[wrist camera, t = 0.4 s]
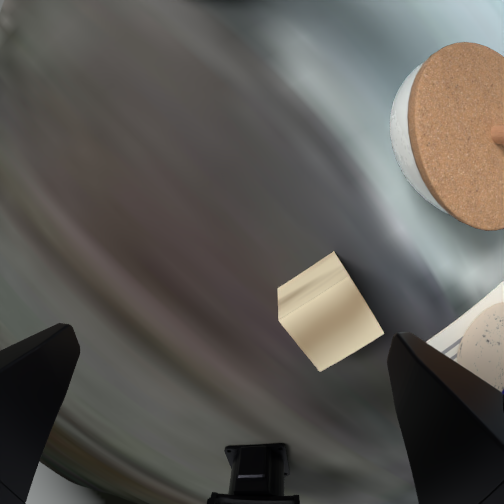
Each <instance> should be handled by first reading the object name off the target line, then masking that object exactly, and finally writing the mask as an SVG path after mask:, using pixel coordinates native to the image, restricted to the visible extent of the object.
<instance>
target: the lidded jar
mask: <svg viewBox="0 0 504 504" xmlns="http://www.w3.org/2000/svg"><path fill="white" fill-rule="evenodd" d="M390 137H391V142H392V148H393V151H394V154H395V157H396V160H397V162H398V164H399V167H400V169H401V171H402V172H403V174H404V176H405V177H406V179H407V180H408V182H409V183H410V184H411V185H412V186H413V188H414V189H415V190H416V191H417V192H418V193H419V194H420V195H421V196H422V197H423V198H424V199H426V200H427V201H428V202H429V203H431V204H432V205H434V206H435V207H437V208H438V209H440V210H441V211H443V212H445V213H447V214H449V215H451V216H453V217H454V218H456V219H457V220H459V221H460V222H462V223H465V224H467V225H469V226H471V227H474V228H477V229H481V230H486V231H489V230H500V229H504V57H503V56H502V55H500V54H499V53H497V52H496V51H494V50H492V49H490V48H488V47H486V46H483V45H480V44H476V43H469V42H462V43H454V44H451V45H448V46H446V47H444V48H442V49H440V50H439V51H437V52H436V53H434V54H433V55H431V56H430V57H429V58H428V59H427V60H426V61H424V62H423V63H421V64H420V65H418V66H417V67H416V68H415V69H414V70H413V71H412V72H411V73H410V74H409V75H408V76H407V77H406V79H405V80H404V82H403V83H402V85H401V86H400V88H399V90H398V91H397V94H396V96H395V99H394V101H393V105H392V109H391V115H390Z"/></svg>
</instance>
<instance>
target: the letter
mask: <svg viewBox="0 0 504 504" xmlns="http://www.w3.org/2000/svg"><path fill="white" fill-rule="evenodd" d="M503 302H504V281H503V282H502V283H500V284H499V285H498V286H497V287H496V288H495V289H494V290H492V291H491V292H490V293H489V294H488V295H487V296H485V297H484V298H483V299H482V300H481V301H479V302H478V303H477V304H476V305H474V306H473V307H472V308H471V309H470V310H468V311H467V312H466V313H464V314H463V315H462V316H461V317H459V318H458V319H457V320H455V321H454V322H453V323H451V324H450V325H449V326H447V327H446V328H445V329H443V330H442V331H440V332H439V333H438V334H436V335H435V336H433V337H432V338H431V339H429V340H428V341H426V343H428V344H429V345H431V346H432V347H434V348H435V349H437V350H438V351H440V352H441V353H443V354H445V355H446V356H448V357H449V358H451V359H452V360H454V361H455V362H457V353H458V349H459V345H460V342H461V340H462V338H463V336H464V334H465V332H466V331H467V329H468V327H469V326H470V325H471V323H472V322H473V321H474V320H475V319H476V318H477V317H478V316H479V315H480V314H481V313H482V312H483V311H485V310H486V309H487V308H489V307H491V306H493V305H495V304H498V303H503Z"/></svg>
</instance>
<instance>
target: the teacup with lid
mask: <svg viewBox="0 0 504 504" xmlns="http://www.w3.org/2000/svg"><path fill="white" fill-rule="evenodd" d="M457 363H458V364H460V365H461V366H463V367H464V368H466V369H467V370H469V371H471V372H472V373H474V374H475V375H477V376H478V377H480V378H481V379H483V380H484V381H486V382H487V383H489V384H490V385H492V386H493V387H495V388H496V389H498V390H499V391H501V392H502V395H503V394H504V302H503V303H498V304H495V305H493V306H491V307H489V308H487V309H486V310H485V311H483V312H482V313H481V314H480V315H479V316H478V317H477V318H476V319H475V320H474V321H473V322H472V323H471V325H470V326H469V327H468V329H467V331H466V332H465V334H464V336H463V338H462V340H461V342H460V345H459V349H458V353H457Z"/></svg>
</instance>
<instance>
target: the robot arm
mask: <svg viewBox="0 0 504 504" xmlns="http://www.w3.org/2000/svg"><path fill="white" fill-rule="evenodd" d="M79 355H80V346H79V343H78V340H77V338H76V335H75V332H74V330H73V327H72V326H71V325H69V324H63V323H59V324H56V325H54V326H52V327H50V328H48V329H45V330H43V331H41V332H39V333H37V334H35V335H33V336H30V337H28V338H26V339H24V340H22V341H20V342H18V343H16V344H13V345H11V346H9V347H7V348H5V349H3V350H1V351H0V504H25V502H26V500H27V496H28V493H29V490H30V487H31V484H32V481H33V477H34V475H35V472H36V469H37V466H38V463H39V461H40V458H41V455H42V452H43V450H44V447H45V444H46V442H47V439H48V437H49V434H50V432H51V429H52V427H53V424H54V422H55V419H56V417H57V414H58V412H59V410H60V407H61V405H62V403H63V400H64V398H65V395H66V393H67V390H68V387H69V384H70V381H71V378H72V375H73V372H74V369H75V366H76V363H77V361H78V358H79ZM387 365H388V370H389V375H390V381H391V386H392V392H393V397H394V403H395V409H396V413H397V417H398V421H399V424H400V428H401V432H402V435H403V439H404V443H405V446H406V450H407V454H408V458H409V462H410V466H411V470H412V475H413V479H414V483H415V488H416V492H417V497H418V501H419V504H504V394H503V395H502V392H501V391H499V390H498V389H496V388H495V387H493V386H492V385H490V384H489V383H487V382H486V381H484V380H483V379H481V378H480V377H478V376H477V375H475V374H474V373H472V372H471V371H469V370H467V369H466V368H464V367H463V366H461V365H460V364H458V363H457V362H455V361H454V360H452V359H451V358H449V357H448V356H446V355H445V354H443V353H441V352H440V351H438V350H437V349H435V348H434V347H432V346H431V345H429V344H428V343H426V342H424V341H423V340H421V339H420V338H418V337H417V336H415V335H414V334H412V333H410V332H399V333H396V334H395V335H394V336H393V339H392V343H391V347H390V350H389V354H388V359H387ZM225 454H226V456H227V459H228V461H229V464H230V466H231V468H232V472H231V479H230V486H229V493H228V494H218V493H216V492H212V494H211V498H209V499H208V500H207V504H300V501H299V495H293V496H284V476H288V475H289V474H290V471H289V465H288V459H287V453H286V447H285V445H284V444H282V443H279V444H266V445H247V446H226V447H225Z"/></svg>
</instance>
